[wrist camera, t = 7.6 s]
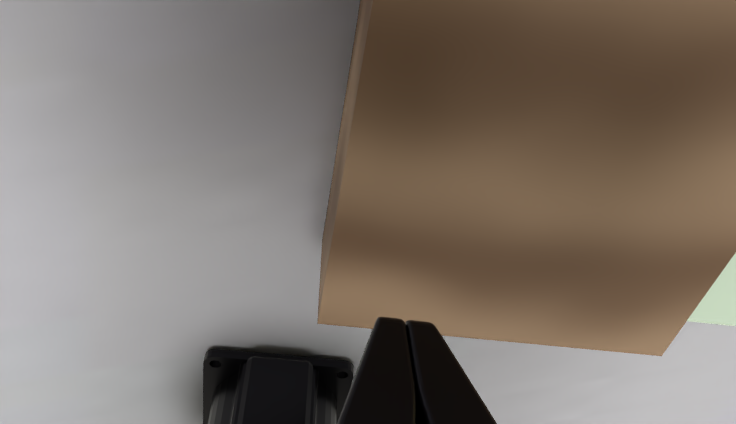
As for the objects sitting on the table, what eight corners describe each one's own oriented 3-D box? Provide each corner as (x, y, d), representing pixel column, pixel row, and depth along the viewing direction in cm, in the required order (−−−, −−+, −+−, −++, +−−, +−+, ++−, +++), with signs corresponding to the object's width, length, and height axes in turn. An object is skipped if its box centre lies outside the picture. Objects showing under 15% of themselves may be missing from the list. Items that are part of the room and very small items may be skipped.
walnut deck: (625, 273, 26) (661, 355, 23) (322, 240, 24) (317, 323, 21) (1032, -422, 13) (1239, -449, 10) (451, -573, 12) (485, -658, 9)
